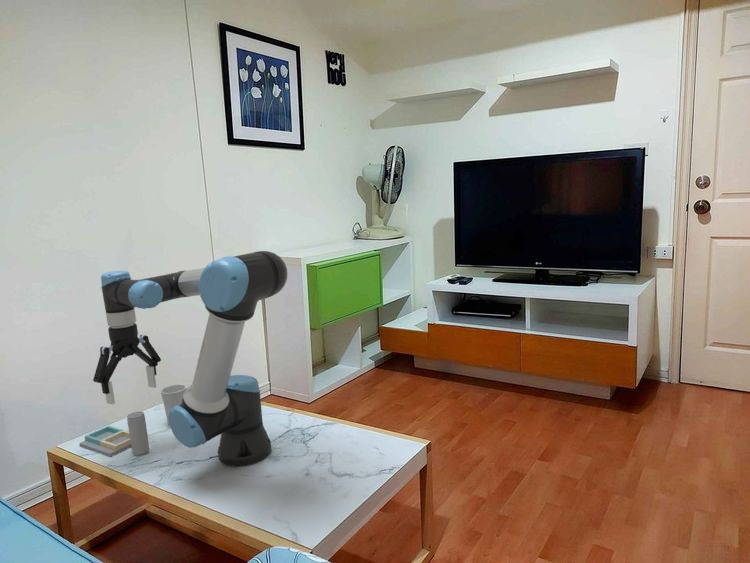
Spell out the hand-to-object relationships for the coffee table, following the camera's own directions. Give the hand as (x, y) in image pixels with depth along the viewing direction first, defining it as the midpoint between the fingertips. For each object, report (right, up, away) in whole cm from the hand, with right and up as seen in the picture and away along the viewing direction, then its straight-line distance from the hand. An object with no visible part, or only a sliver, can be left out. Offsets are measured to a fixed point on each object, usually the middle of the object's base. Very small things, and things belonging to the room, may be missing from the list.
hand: (132, 394), depth 158 cm
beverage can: (+1, -18, +3) cm, 18 cm away
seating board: (-11, -17, +10) cm, 23 cm away
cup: (+5, -14, +23) cm, 27 cm away
